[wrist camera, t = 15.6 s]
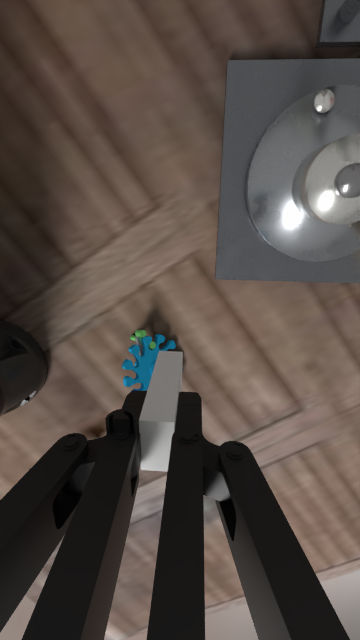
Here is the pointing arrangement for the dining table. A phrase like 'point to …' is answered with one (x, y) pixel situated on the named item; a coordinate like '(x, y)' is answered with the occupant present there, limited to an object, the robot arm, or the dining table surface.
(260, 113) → the turntable base
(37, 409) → the dining table surface
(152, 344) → the blue virus model
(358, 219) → the cover
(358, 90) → the turntable
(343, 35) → the dial gauge
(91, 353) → the dining table surface
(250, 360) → the dining table surface
